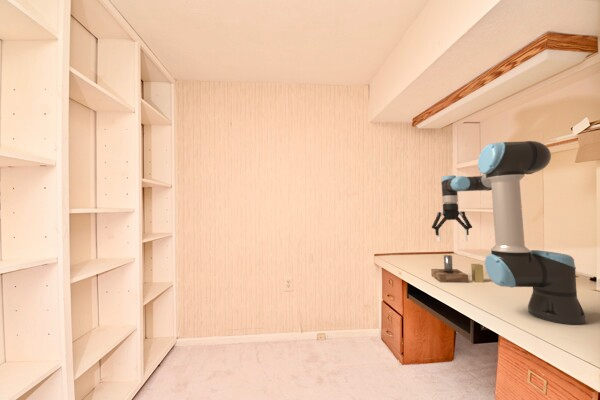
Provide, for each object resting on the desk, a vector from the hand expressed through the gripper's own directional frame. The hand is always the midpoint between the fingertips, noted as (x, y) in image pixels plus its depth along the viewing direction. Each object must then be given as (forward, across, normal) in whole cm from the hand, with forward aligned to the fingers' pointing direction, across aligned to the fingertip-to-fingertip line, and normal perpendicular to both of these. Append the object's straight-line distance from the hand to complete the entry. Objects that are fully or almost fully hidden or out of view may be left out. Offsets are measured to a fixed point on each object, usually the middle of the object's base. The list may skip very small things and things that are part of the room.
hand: (452, 241), depth 148 cm
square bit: (+21, -11, +3) cm, 24 cm away
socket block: (+21, +2, -2) cm, 21 cm away
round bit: (+20, +2, -2) cm, 20 cm away
